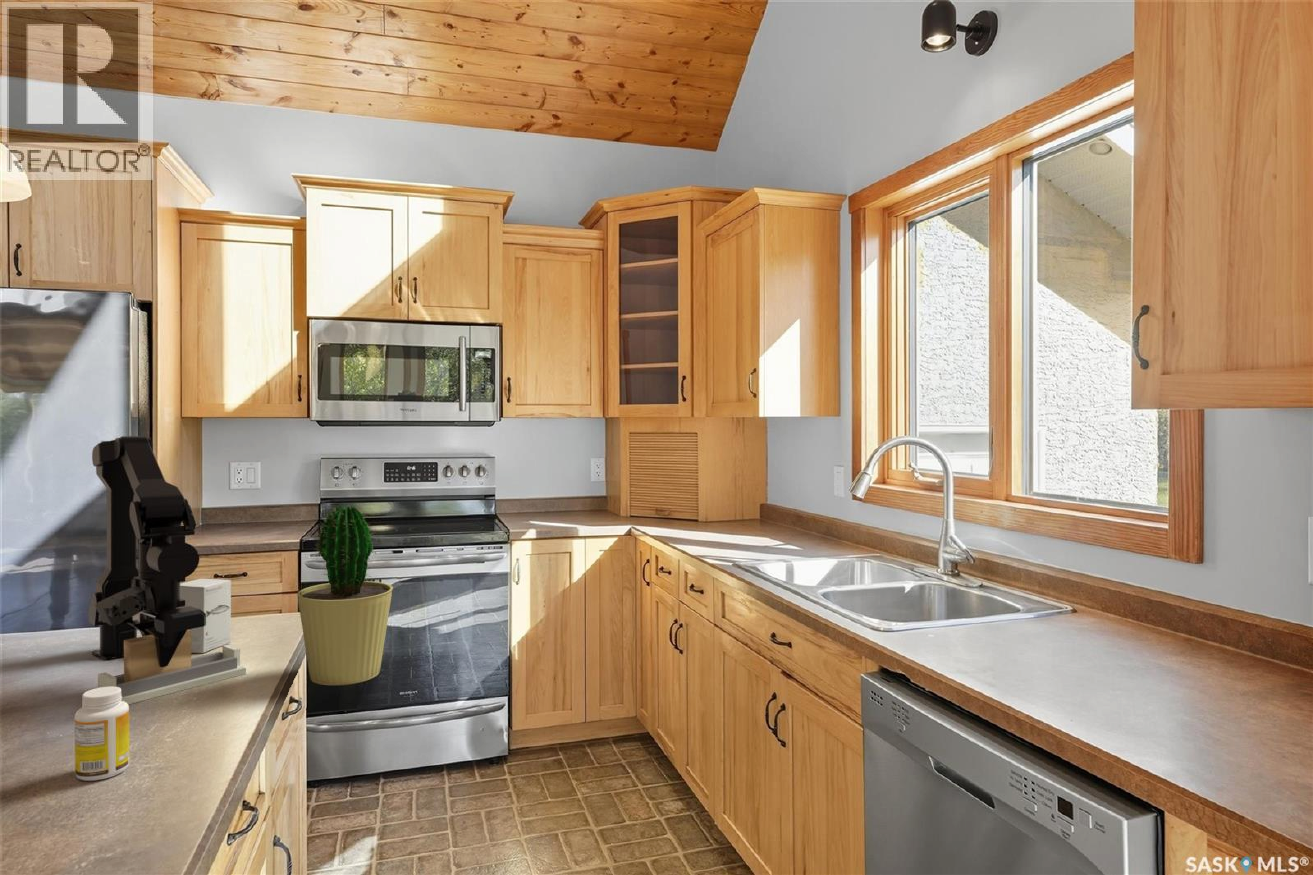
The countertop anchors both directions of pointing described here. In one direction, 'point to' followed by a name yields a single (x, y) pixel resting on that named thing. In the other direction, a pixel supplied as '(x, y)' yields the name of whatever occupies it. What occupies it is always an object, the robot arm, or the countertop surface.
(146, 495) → the robot arm
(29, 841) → the countertop surface
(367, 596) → the potted cactus
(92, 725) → the supplement bottle
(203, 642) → the supplement box
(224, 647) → the track board
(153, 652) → the door panel
